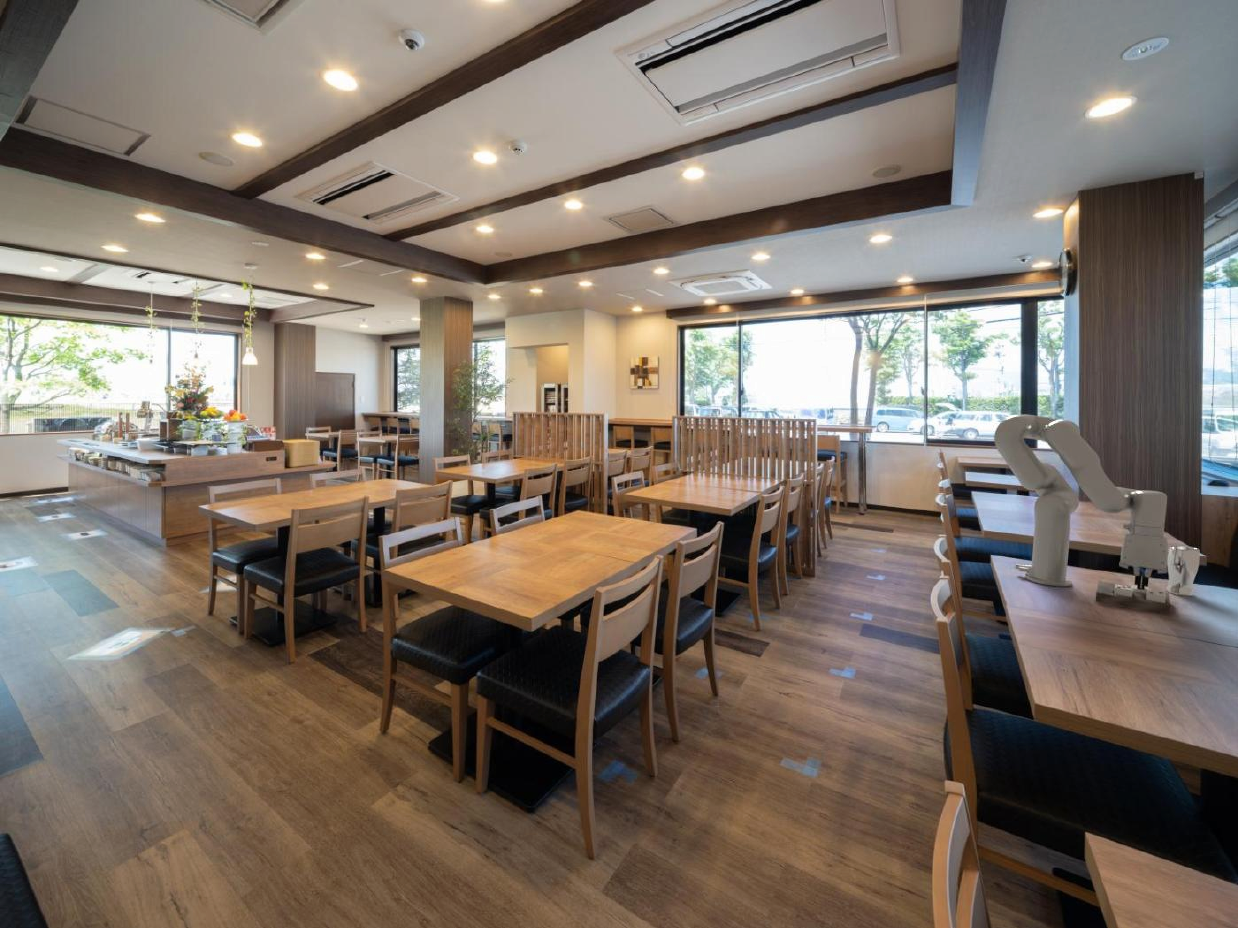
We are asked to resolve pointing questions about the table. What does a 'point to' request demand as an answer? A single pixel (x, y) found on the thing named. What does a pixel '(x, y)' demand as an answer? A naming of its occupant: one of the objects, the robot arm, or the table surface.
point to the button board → (1130, 599)
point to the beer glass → (1182, 569)
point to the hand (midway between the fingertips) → (1140, 587)
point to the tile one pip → (1139, 589)
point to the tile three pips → (1123, 590)
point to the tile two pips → (1156, 596)
